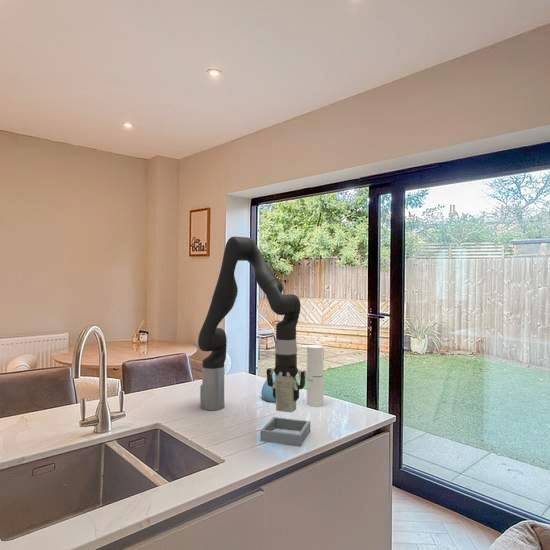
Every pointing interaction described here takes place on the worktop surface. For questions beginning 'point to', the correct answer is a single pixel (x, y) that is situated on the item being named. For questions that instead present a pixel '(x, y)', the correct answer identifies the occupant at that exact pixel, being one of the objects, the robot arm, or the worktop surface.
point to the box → (283, 437)
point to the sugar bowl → (268, 391)
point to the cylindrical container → (315, 375)
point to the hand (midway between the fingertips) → (286, 399)
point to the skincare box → (285, 394)
